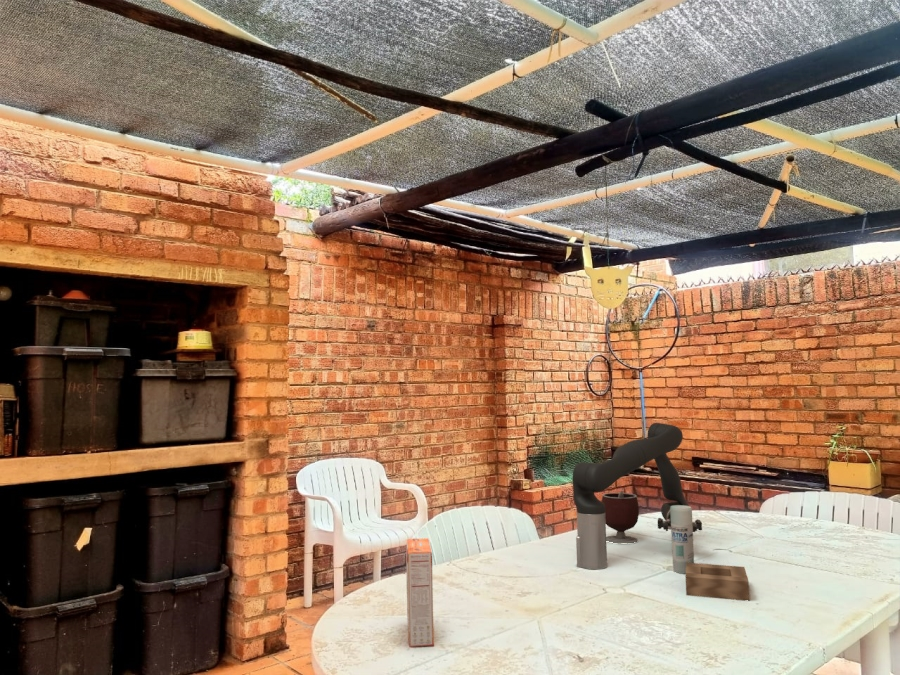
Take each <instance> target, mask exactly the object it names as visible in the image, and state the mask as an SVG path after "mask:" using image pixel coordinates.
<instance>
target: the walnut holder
mask: <svg viewBox="0 0 900 675" xmlns="http://www.w3.org/2000/svg"><path fill="white" fill-rule="evenodd" d="M749 583H750V582H749V579H748V574H747V572H746V569H745V566H738V565H737V566H736V565H725V564H723V565H722V564H711V563H709V564H708V563H698V562H697V563H696V562H694V563H686V574H685V594H686V596H691V597H693V596H694V597H702V598H703V597H704V598H712V599H713V598H715V599H725V600H726V599H727V600H734V599H736V600H737V601H745V600H748V601H747V602H750V601H751V600H750V584H749ZM736 600H735V601H736Z"/></svg>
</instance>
